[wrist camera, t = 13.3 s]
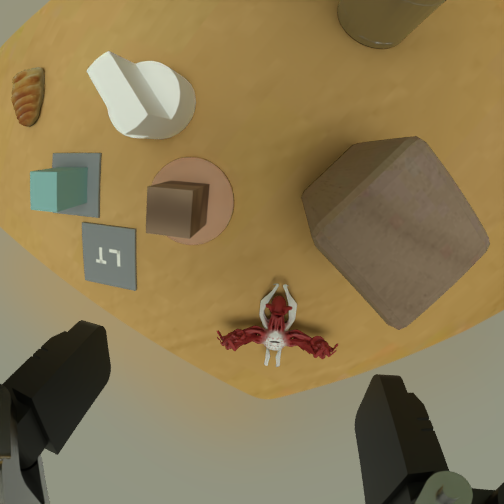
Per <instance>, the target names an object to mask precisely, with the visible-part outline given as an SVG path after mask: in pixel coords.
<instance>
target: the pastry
mask: <svg viewBox="0 0 504 504" xmlns="http://www.w3.org/2000/svg"><path fill="white" fill-rule="evenodd" d="M44 77H45V76H44V71H43V69H42V68H40V67H38V68H32V69H28V70H24V71H21V72H19V73H17V74H16V76H15V77H14V78H13V82H12V83H13V89H12V103H13V106H14V110H15V113H16V116H17V119H18V120H19V123H20V124H22V125H23V126H27V127H29V126H31V125H33V124H34V123H35V121H36V120H37V119H38V117H39V114H40V108H41V105H42V101H43V98H44Z"/></svg>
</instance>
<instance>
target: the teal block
mask: <svg viewBox="0 0 504 504" xmlns="http://www.w3.org/2000/svg"><path fill="white" fill-rule="evenodd" d="M87 174H88V167H57V168H50V169H44V170H37V171H31V172H30V198H31V210H40V211H49V212H60V211H63V210H66V209H69V208H72V207H75V206H78V205H81V204H84V203H87Z"/></svg>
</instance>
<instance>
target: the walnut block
mask: <svg viewBox="0 0 504 504" xmlns="http://www.w3.org/2000/svg"><path fill="white" fill-rule="evenodd" d="M209 185H210V184H205V183H194V182H183V181H172V180H170V181H167V182H163V183H159V184H155V185H152V186H148V189H147V214H146V233H150V234H158V235H165V236H173V237H180V238H188V239H190V238H191V237H192V236H194V235H195V234H196V233H197V232H198V231H199V230H200V229H201V228H203V227H204V226H205V225H206V222H207V209H208V197H209Z"/></svg>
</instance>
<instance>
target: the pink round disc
mask: <svg viewBox="0 0 504 504" xmlns="http://www.w3.org/2000/svg"><path fill="white" fill-rule="evenodd" d="M170 180H172V181H183V182H194V183H205V184H210V185H209V197H208V209H207V222H206V225H205V226H204V227H203V228H201V229H200V230H199V231H198V232H197V233H196V234H195V235H194V236H192V237H191V238H190V239H188V238H180V237H173V236H167V237H169V238H170V239H172V240H174V241H176V242H179V243H182V244H187V245H198V244H203V243H206V242H208V241H210V240H212V239H214V238H215V237H217V236H218V235H219V234H220V233H221V232H222V231H223V230H224V229H225V228H226V226H227V224H228V223H229V221H230V219H231V216H232V213H233V208H234V195H233V190H232V187H231V184H230V182H229V180H228V178H227V177H226V175H225V174H224V173H223V172H222V171H221V169H220V168H218V167H217V166H216V165H214V164H213V163H211V162H209V161H207V160H205V159H201V158H195V157H186V158H180V159H177V160H174V161H172V162H170V163H168V164H167V165H165V166H164V167H163V168H162V169H161V170H160V171H159V172H158V173H157V175H156V176H155V178H154V180H153V182H152V185H155V184H159V183H163V182H167V181H170ZM152 185H151V186H152Z"/></svg>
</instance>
